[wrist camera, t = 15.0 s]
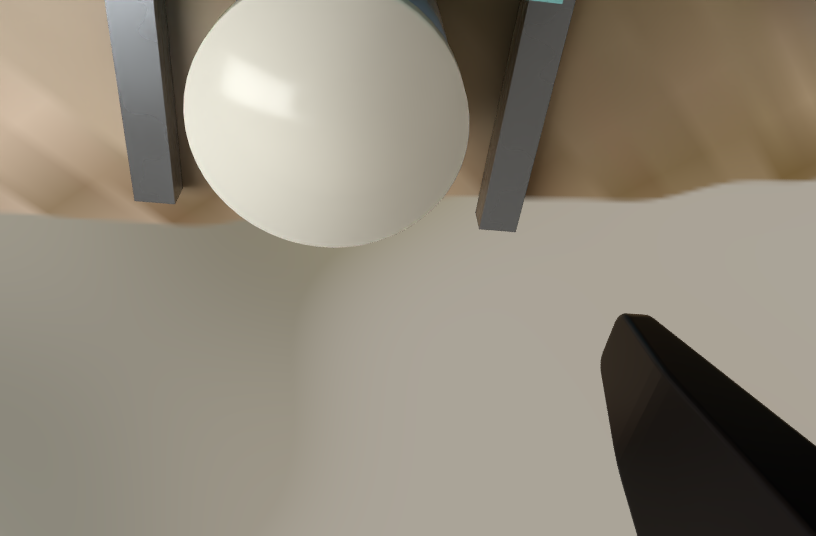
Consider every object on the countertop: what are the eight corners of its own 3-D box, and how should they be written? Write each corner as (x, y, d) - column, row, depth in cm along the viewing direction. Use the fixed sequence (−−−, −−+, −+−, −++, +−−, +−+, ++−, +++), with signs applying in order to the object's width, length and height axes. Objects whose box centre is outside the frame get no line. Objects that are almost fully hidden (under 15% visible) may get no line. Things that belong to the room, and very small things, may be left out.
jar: (411, 164, 20) (420, 270, 16) (219, 114, 19) (171, 214, 14) (478, -32, 17) (512, 35, 12) (250, -107, 16) (200, -62, 11)
